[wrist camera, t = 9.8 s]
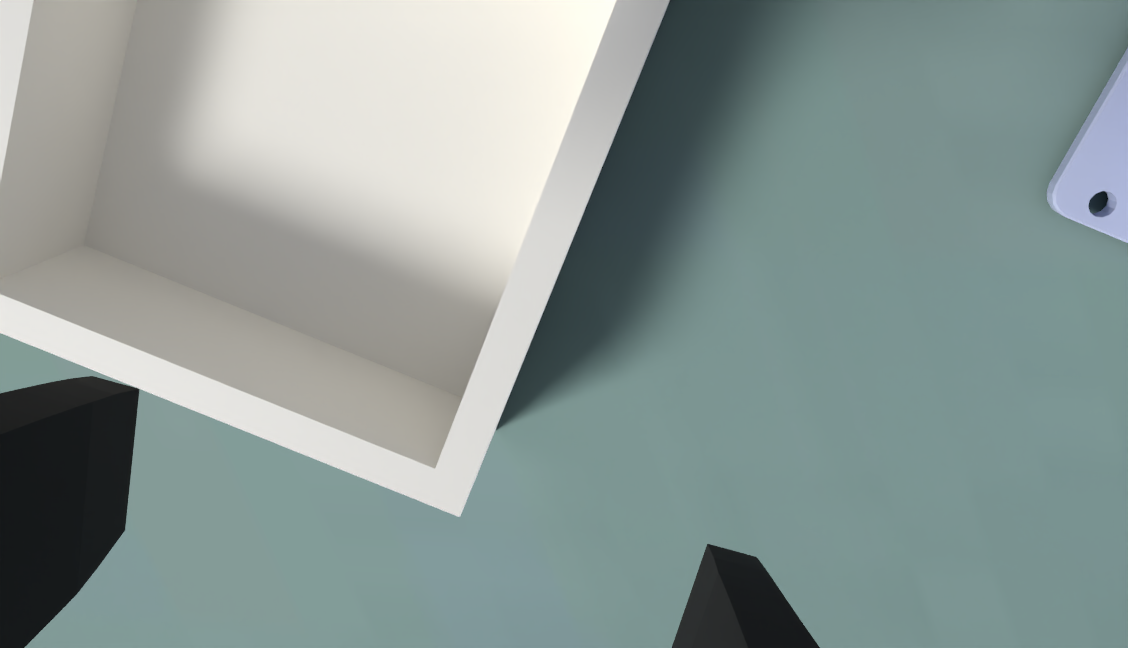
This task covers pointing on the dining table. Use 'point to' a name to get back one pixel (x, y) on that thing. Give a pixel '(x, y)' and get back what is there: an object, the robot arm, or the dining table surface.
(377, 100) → the box
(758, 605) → the robot arm
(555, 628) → the dining table surface
